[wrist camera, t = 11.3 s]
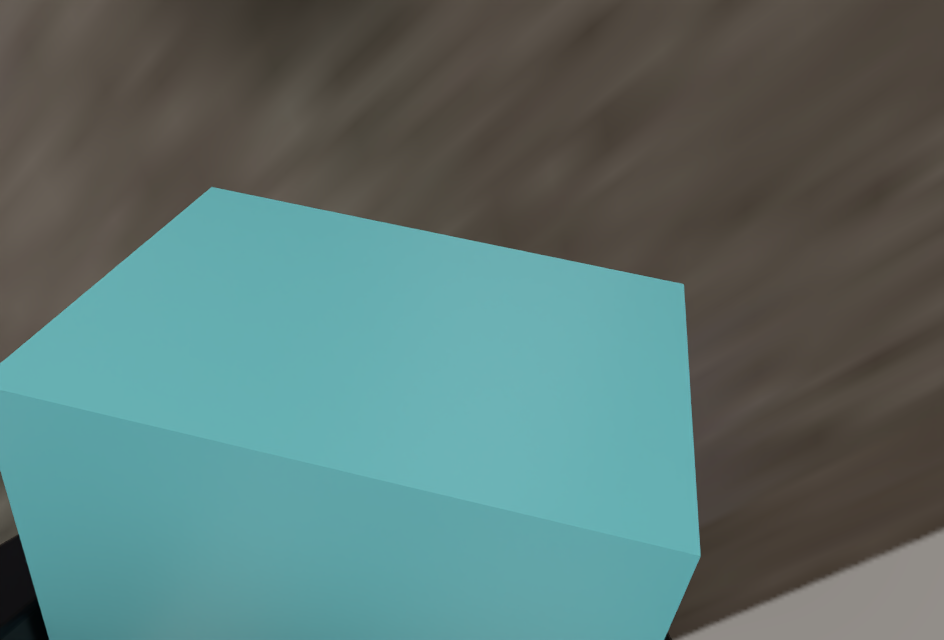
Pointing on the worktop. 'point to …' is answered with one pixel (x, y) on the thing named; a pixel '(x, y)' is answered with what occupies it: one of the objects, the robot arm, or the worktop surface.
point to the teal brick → (353, 439)
